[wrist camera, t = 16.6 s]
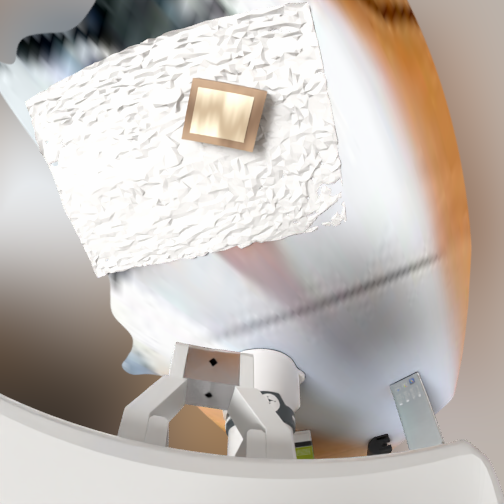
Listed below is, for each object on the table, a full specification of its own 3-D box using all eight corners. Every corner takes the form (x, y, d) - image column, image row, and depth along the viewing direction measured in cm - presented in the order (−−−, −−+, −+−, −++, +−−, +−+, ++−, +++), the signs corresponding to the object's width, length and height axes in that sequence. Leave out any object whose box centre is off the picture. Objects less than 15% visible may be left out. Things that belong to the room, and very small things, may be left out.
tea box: (311, 448, 83) (316, 490, 70) (278, 452, 84) (281, 494, 71) (310, 428, 75) (316, 476, 62) (273, 433, 76) (276, 481, 63)
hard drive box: (388, 385, 65) (410, 457, 48) (417, 370, 63) (444, 441, 46) (402, 407, 72) (421, 469, 55) (427, 394, 70) (449, 455, 53)
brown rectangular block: (252, 152, 34) (181, 139, 33) (252, 146, 37) (186, 134, 36) (267, 92, 31) (192, 78, 30) (265, 90, 33) (197, 77, 32)
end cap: (366, 438, 82) (370, 456, 76) (387, 432, 81) (392, 450, 75) (365, 449, 87) (368, 465, 81) (385, 443, 86) (389, 460, 80)
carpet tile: (306, 3, 29) (309, 0, 27) (346, 222, 44) (349, 228, 43) (29, 100, 33) (21, 102, 31) (100, 273, 49) (96, 280, 47)
